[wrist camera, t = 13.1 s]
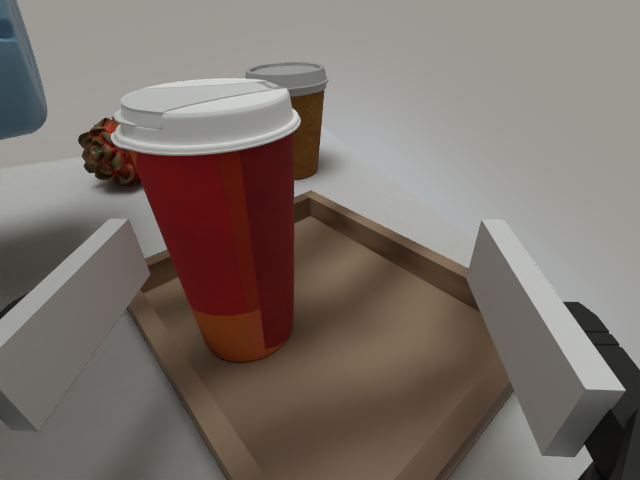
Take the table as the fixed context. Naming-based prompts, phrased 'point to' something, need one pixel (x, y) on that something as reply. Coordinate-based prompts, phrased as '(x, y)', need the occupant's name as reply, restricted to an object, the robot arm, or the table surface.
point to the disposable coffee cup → (300, 106)
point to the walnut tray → (339, 361)
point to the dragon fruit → (107, 154)
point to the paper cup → (222, 202)
